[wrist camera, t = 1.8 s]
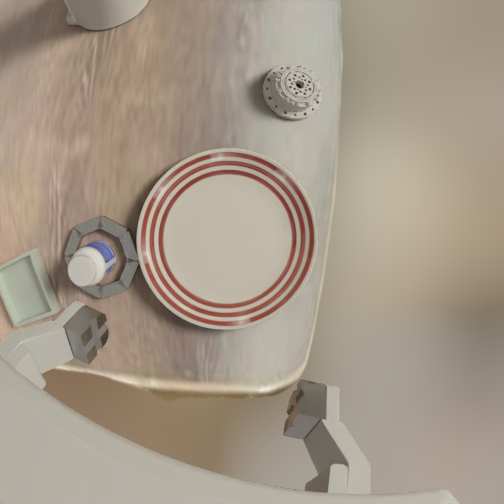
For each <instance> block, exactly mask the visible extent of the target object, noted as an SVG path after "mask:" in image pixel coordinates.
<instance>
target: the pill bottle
mask: <svg viewBox="0 0 504 504" xmlns="http://www.w3.org/2000/svg"><path fill="white" fill-rule="evenodd" d="M115 264H116V252H115V250H114V248H113V247H112V245H110V244H109V243H108V242H106V241H102V240H99V241H95V242H93V243H90V244H88V245H86V246H84V247H82V248H80V249H78V250H77V251H76V252H75V253H74V255H73V256H72V259H71V261H70V263H69V265H68V275H69V277H70V279H71V281H72V282H73V283H74V284H76V285H78V286H91V285H95V284H97V283H99V282H100V281H101V280H102V279H103V278H104V277H105V276H106V275H107V274H108V273H109V272H111V271H112V269H113V268H114V266H115Z"/></svg>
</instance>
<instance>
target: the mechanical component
mask: <svg viewBox="0 0 504 504" xmlns="http://www.w3.org/2000/svg"><path fill="white" fill-rule="evenodd" d="M319 81H320V80H319V79H318V78H317V77H316V76H315V74H314V73H312V70H308V68H307V67H302V66H301V65H299V66H298V65H283V66H279V67H277V68H275V69H273V70H272V71H271V72H270V73H269V74H268V75H267V77H266V78H265V80H264V83H263V86H262V89H263V97H264V100H265V102H266V104H267V105H268V106H269V108H270V109H271V110H272V111H274V112H275V113H276V114H277V115H279V116H281V117H284V118H286V119H290V120H301V119H304V118H307V117H309V116H311V115H312V114H313V113H315V112H316V111H317V109H318V108H319V106H320V104H321V100H322V93H321V91H322V89H321V86H320V82H319ZM296 85H297V86H298V87H299V88H298V87H297V86H296ZM284 113H285V114H284Z"/></svg>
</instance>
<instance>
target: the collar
mask: <svg viewBox="0 0 504 504" xmlns="http://www.w3.org/2000/svg"><path fill="white" fill-rule="evenodd" d="M98 229H102V230H104V231H106V232H108V233H110V234H112V235H114V236H116V237H118V238H119V239H120V242H121V244H122V247H123V250H124V253H125V256H126V258H127V263H126V265H125V267H124V270H123V272H122V275H121V277H120V279H119V280H116V281H114V282H111V283H108V284H105V285H100V284H99V283H97V284H95V285H91V286H78V285H76V286H77V287H79V288H81V289H83V290H84V291H86V292H88V293H90V294H92V295H94V296H96V297H97V298H99V299H100V298H102V299H103V298H106V297H109V296H112V295H115V294H118V293H120V292H123V291H126V290H127V289H128V288H129V287H130V285H131V282H132V280H133V277H134V275H135V272H136V270H137V268H138V265H139V259H138V254H137V248H136V245H135V242H134V239H133V236H132V233H131V231H128V229H129V228H127V227H125V226H123V225H121V224H119V223H117V222H115V221H113V220H111V219H109V218H108V217H106V216H98V217H96V218H93V219H91V220H89V221H86V222H84V223H82V224H79V225H77V226H75V228H73V230H72V233H71V236H70V239H69V241H68V244H67V247H66V250H65V253H64V255H66V257H64V258H65V261H66V264H67V266H68V265H69V263H70V261H71V259H72V256H73V255H74V253H75V252H76V251H77V250H78V249H79V247H80V244H81V241H82V239H83V236H84V235H86V234H88V233H90V232H93V231H95V230H98Z"/></svg>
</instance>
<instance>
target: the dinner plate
mask: <svg viewBox="0 0 504 504" xmlns="http://www.w3.org/2000/svg"><path fill="white" fill-rule="evenodd" d="M136 243H137V254H138V259H139V263H140V267H141V270H142V273H143V275H144V277H145V280H146V282H147V283H148V285H149V287H150V288H151V290H152V291H153V293H154V294H155V296H156V297H157V298H158V299H159V300H160V302H161V303H162V304H163V305H165V306H166V307H167V308H168V309H169V310H170V311H171V312H173V313H174V314H176V315H177V316H179V317H180V318H182V319H184V320H186V321H188V322H190V323H193V324H195V325H198V326H201V327H205V328H210V329H218V330H233V329H241V328H246V327H250V326H254V325H257V324H259V323H262V322H264V321H266V320H268V319H270V318H272V317H273V316H275V315H277V314H278V313H280V312H281V311H282V310H283V309H285V308H286V307H287V306H288V305H289V304H290V303H291V302H292V301H293V300H294V299H295V298H296V297H297V295H298V294H299V293H300V292H301V290H302V289H303V287H304V285H305V284H306V282H307V280H308V278H309V276H310V273H311V271H312V268H313V265H314V262H315V258H316V253H317V244H318V231H317V224H316V218H315V214H314V210H313V207H312V204H311V202H310V200H309V198H308V196H307V194H306V192H305V191H304V189H303V187H302V186H301V185H300V183H299V182H298V181H297V179H296V178H295V177H294V176H293V175H292V174H291V173H290V172H289V171H288V170H287V169H285V168H284V167H283V166H281V165H280V164H279V163H277V162H275V161H274V160H272V159H270V158H268V157H266V156H264V155H262V154H259V153H256V152H253V151H249V150H244V149H237V148H219V149H212V150H207V151H203V152H200V153H197V154H195V155H192V156H190V157H188V158H186V159H184V160H182V161H181V162H179V163H178V164H176V165H175V166H173V167H172V168H171V169H170V170H168V171H167V172H166V173H165V174H164V175H163V176H162V177H161V178H160V179H159V181H158V182H157V183H156V184H155V186H154V187H153V189H152V190H151V192H150V193H149V195H148V197H147V199H146V201H145V203H144V205H143V208H142V210H141V213H140V217H139V221H138V226H137V237H136Z"/></svg>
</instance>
